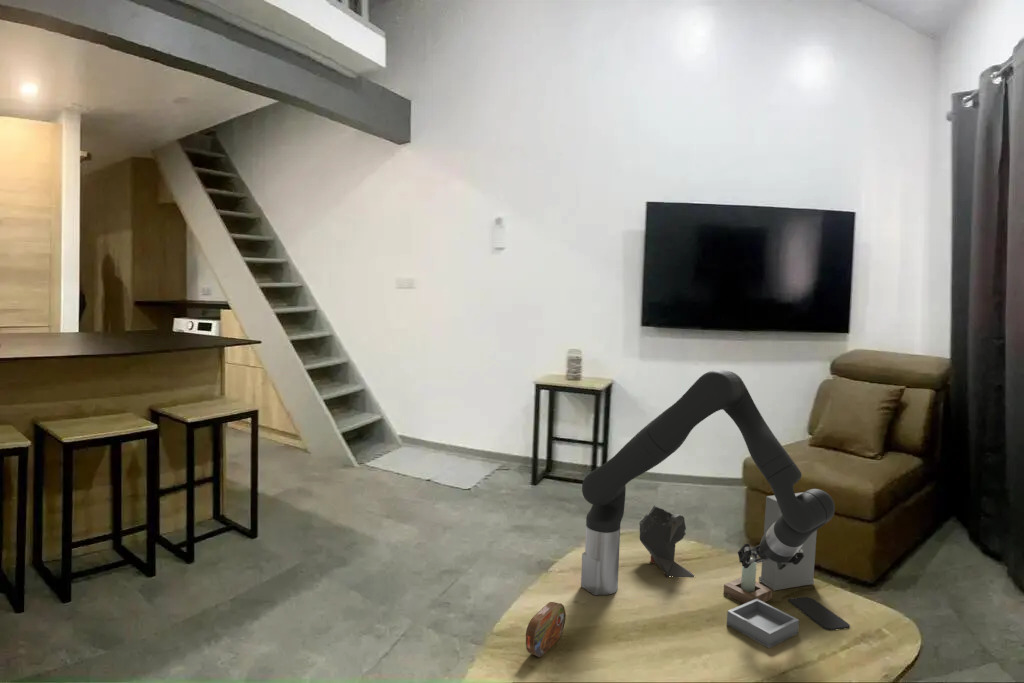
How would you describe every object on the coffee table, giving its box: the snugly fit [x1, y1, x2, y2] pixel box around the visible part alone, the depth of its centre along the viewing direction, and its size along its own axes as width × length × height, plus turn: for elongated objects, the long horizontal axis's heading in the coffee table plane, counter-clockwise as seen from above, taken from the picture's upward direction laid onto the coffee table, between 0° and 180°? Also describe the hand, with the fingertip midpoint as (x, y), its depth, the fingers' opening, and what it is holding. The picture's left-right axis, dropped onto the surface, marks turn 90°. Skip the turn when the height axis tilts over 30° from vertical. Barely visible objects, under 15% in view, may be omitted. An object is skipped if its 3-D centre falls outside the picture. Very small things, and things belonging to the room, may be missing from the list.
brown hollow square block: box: [723, 576, 773, 604], centre depth 165 cm, size 9×9×2 cm
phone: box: [787, 596, 851, 631], centre depth 157 cm, size 7×1×15 cm
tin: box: [525, 601, 567, 658], centre depth 140 cm, size 15×3×8 cm, turn 148°
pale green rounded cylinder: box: [740, 557, 758, 593], centre depth 165 cm, size 4×4×10 cm
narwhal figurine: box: [638, 505, 695, 578], centre depth 182 cm, size 14×15×18 cm
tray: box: [726, 599, 800, 649], centre depth 149 cm, size 12×12×4 cm
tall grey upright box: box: [758, 491, 818, 592], centre depth 172 cm, size 14×6×25 cm, turn 108°
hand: (761, 565), depth 156 cm, fingers open, 8 cm apart
